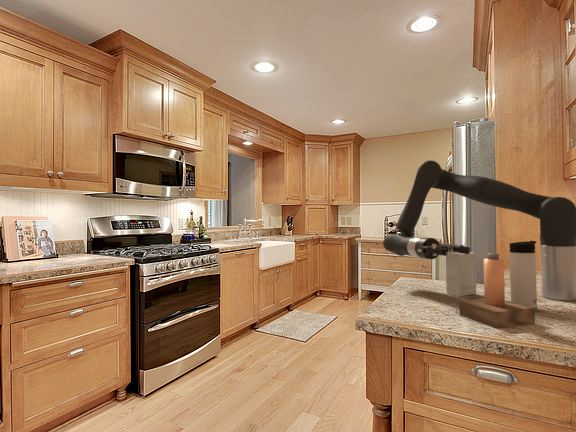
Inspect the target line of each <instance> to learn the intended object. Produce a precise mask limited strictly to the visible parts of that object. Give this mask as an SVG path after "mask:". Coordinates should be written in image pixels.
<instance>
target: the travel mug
mask: <svg viewBox="0 0 576 432" xmlns="http://www.w3.org/2000/svg"><path fill="white" fill-rule="evenodd" d="M536 244H537V241H536V240H529V241H516V242H511V243H509V253H508V254H509V283H510V284H509V287H510V289H509V290H510V301H511V302H514V303H518V304H522V305H526V306H530V307H533V308H534V310H535V312H536V311H537V310H538V298H537V296H538V294H537V293H538V292H537V263H536V261H537V260H536V259H537V257H536Z"/></svg>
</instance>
